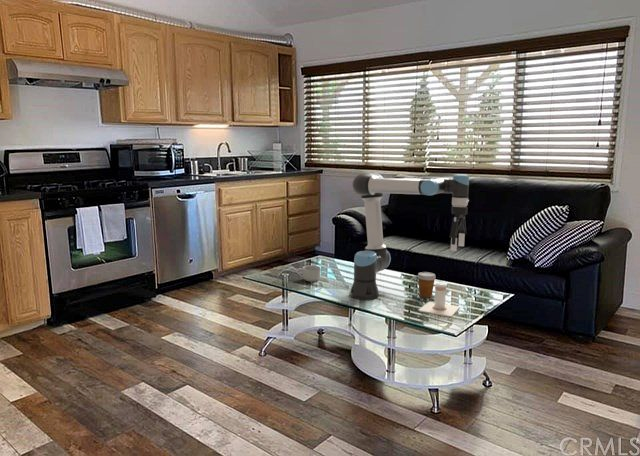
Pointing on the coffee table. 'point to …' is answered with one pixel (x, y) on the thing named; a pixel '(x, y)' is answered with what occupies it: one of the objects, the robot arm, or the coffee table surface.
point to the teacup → (310, 273)
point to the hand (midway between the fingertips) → (457, 248)
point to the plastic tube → (440, 296)
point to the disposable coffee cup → (426, 283)
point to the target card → (448, 310)
